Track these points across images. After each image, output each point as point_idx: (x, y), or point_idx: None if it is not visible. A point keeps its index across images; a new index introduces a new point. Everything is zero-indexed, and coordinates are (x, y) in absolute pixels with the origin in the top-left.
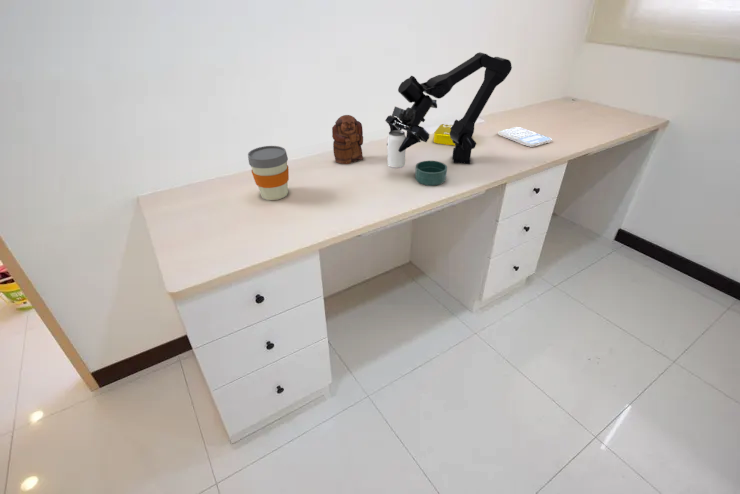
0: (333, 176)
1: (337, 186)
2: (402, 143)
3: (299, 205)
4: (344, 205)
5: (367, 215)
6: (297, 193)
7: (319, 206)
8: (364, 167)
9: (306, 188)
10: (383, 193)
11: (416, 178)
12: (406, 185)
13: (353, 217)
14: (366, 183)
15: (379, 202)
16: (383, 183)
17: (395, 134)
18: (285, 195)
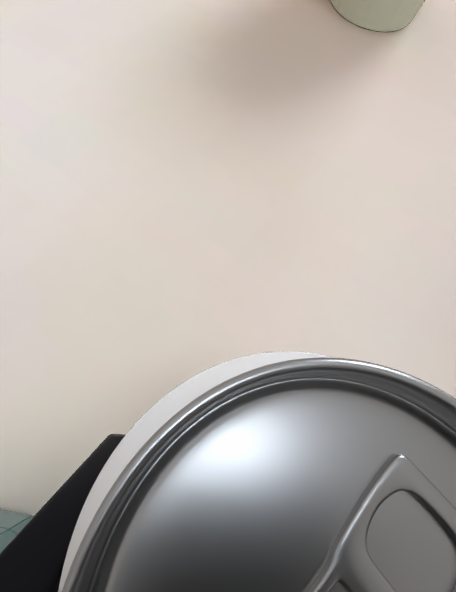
0: (403, 193)
1: (300, 150)
2: (66, 539)
3: (250, 4)
4: (139, 80)
5: (4, 86)
6: (334, 39)
7: (199, 32)
8: (431, 377)
9: (354, 73)
10: (92, 245)
11: (21, 519)
12: (56, 413)
13: (39, 51)
14: (244, 255)
15: (40, 177)
16: (182, 321)
17: (317, 551)
18: (338, 7)
